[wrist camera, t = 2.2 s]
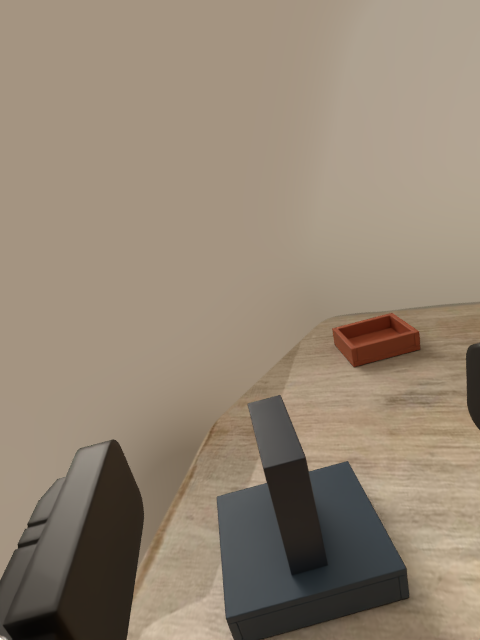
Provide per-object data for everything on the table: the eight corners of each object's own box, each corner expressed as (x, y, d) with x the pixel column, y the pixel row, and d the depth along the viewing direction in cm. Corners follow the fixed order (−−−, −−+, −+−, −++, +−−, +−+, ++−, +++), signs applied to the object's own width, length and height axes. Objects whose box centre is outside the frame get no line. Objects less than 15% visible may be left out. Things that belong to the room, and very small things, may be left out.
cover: (236, 646, 22) (184, 510, 18) (224, 520, 30) (187, 407, 26) (409, 597, 22) (395, 453, 18) (351, 485, 30) (333, 369, 26)
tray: (353, 367, 46) (351, 349, 45) (334, 344, 52) (332, 328, 51) (420, 349, 46) (419, 331, 45) (393, 329, 52) (391, 312, 51)
